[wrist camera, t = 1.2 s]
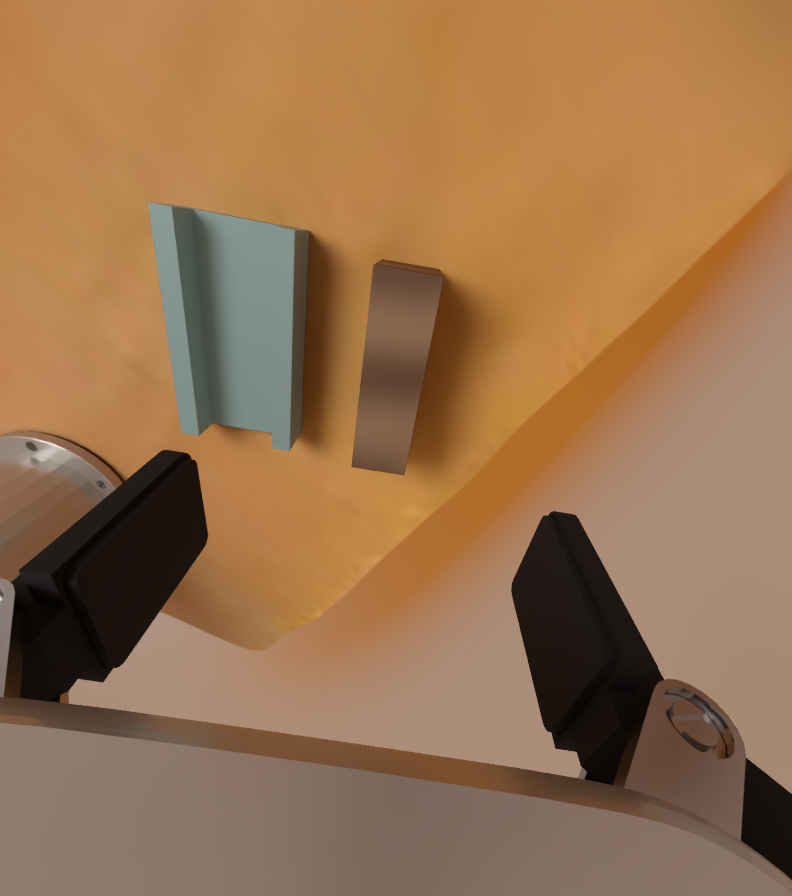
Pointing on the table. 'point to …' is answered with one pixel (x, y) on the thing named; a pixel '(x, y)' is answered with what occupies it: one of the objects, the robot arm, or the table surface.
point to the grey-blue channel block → (233, 319)
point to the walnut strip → (394, 362)
